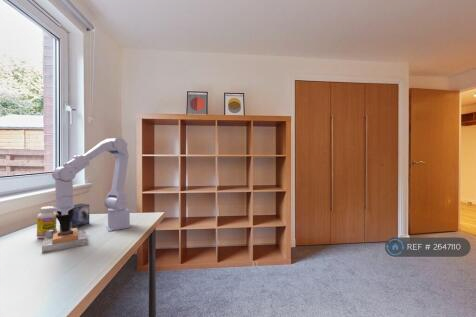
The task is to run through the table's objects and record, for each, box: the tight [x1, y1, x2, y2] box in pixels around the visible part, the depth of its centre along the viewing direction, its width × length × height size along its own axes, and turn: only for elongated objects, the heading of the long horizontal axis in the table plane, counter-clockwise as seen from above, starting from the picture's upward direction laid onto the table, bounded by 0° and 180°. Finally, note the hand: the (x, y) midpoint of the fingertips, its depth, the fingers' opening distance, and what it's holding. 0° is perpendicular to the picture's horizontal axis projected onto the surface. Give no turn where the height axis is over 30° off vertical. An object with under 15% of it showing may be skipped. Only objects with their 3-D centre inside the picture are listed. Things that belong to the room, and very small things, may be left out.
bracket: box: [52, 227, 78, 244], centre depth 99 cm, size 8×18×2 cm, turn 36°
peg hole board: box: [41, 228, 88, 254], centre depth 96 cm, size 14×14×5 cm
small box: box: [71, 203, 90, 229], centre depth 119 cm, size 11×6×10 cm, turn 162°
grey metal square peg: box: [59, 222, 71, 236], centre depth 96 cm, size 4×4×8 cm
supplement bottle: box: [36, 205, 58, 239], centre depth 104 cm, size 7×7×13 cm
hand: (65, 229), depth 96 cm, fingers open, 7 cm apart
